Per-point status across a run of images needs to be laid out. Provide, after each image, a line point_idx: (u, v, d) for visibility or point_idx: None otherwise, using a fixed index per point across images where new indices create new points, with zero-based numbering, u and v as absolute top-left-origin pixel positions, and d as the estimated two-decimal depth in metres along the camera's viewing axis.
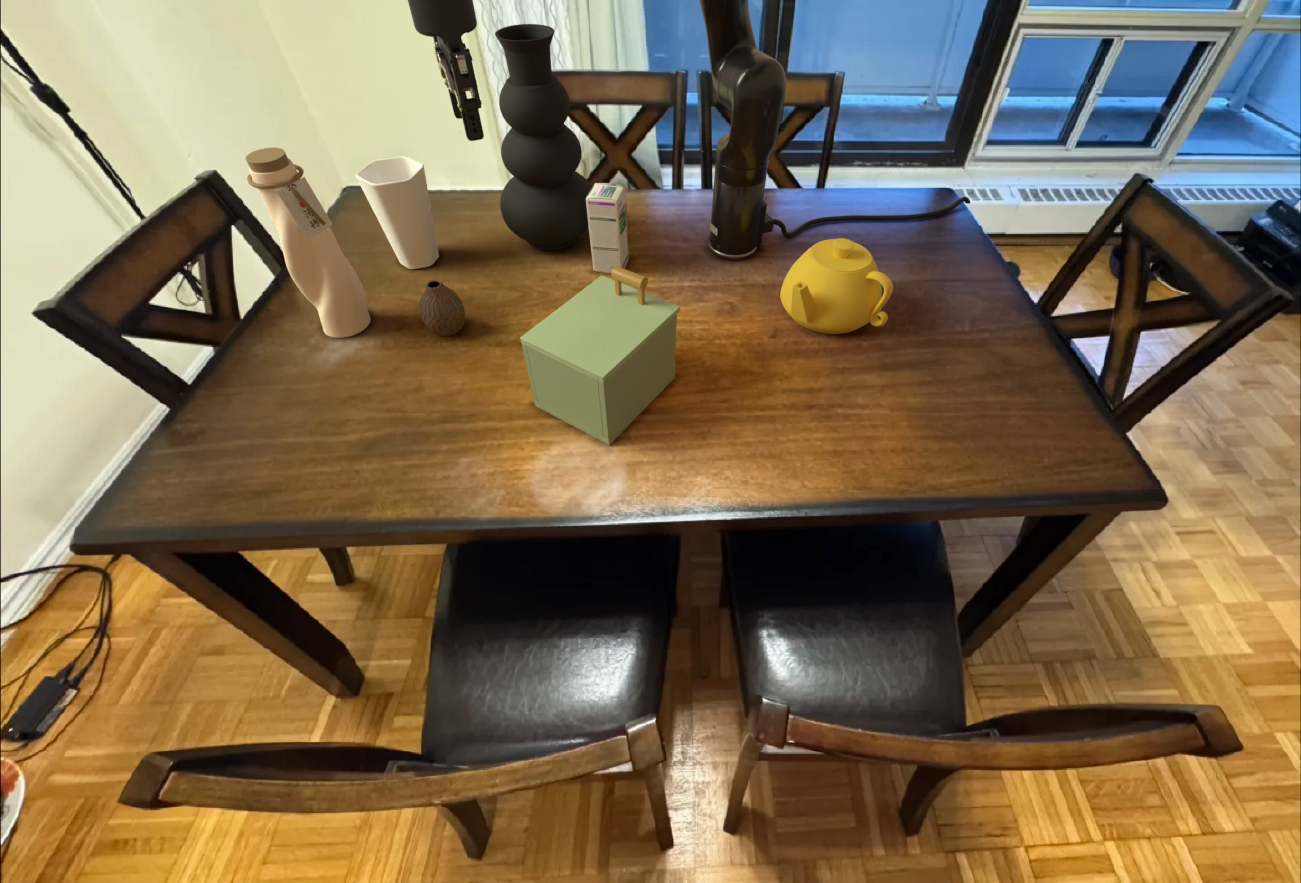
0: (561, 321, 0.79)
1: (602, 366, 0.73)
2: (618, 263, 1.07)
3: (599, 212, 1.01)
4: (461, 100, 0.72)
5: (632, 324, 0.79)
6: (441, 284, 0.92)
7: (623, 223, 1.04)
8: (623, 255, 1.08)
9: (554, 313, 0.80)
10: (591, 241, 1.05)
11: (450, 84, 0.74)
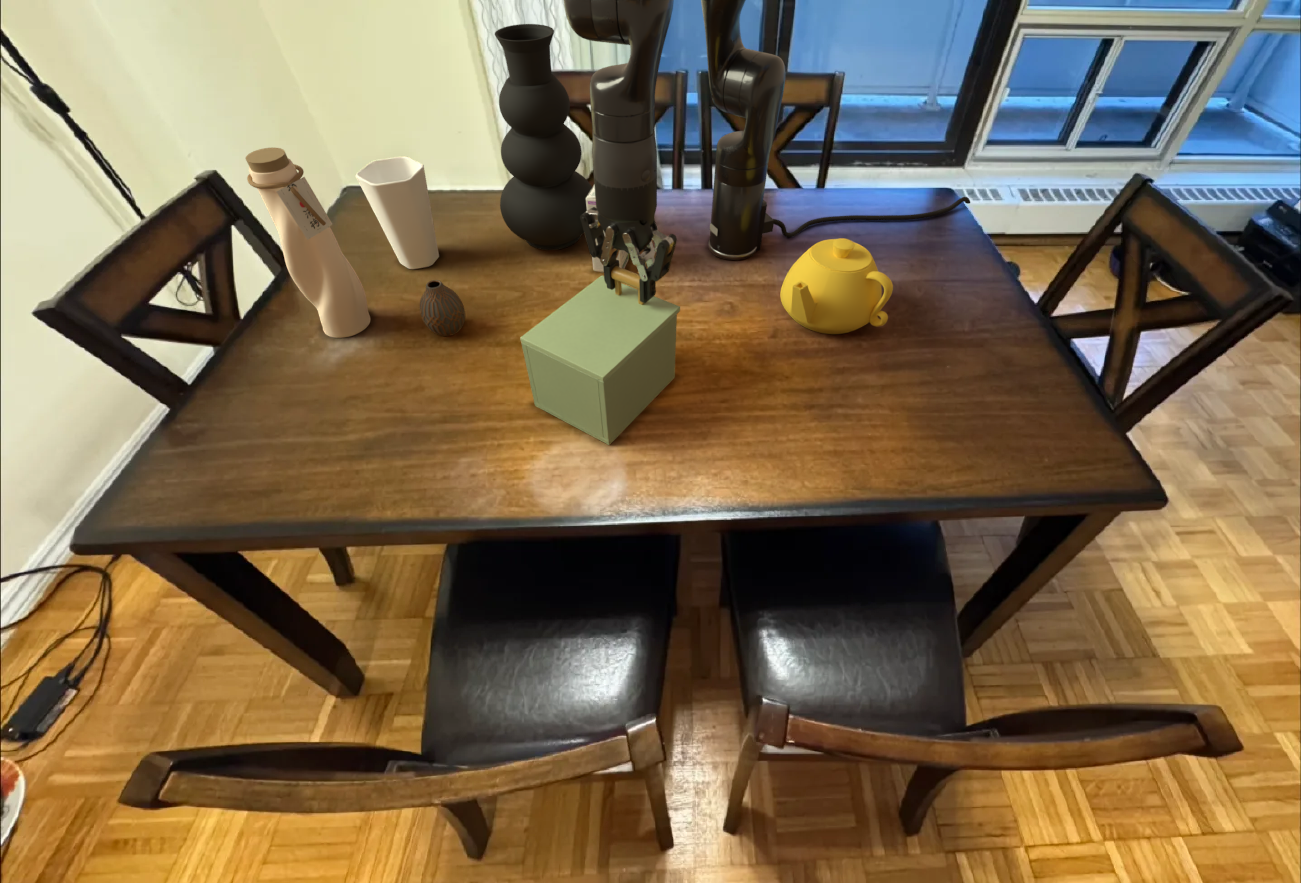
0: (561, 321, 0.79)
1: (602, 366, 0.73)
2: None
3: None
4: (660, 274, 0.75)
5: (632, 324, 0.79)
6: (441, 284, 0.92)
7: None
8: (623, 255, 1.08)
9: (554, 313, 0.80)
10: None
11: (639, 261, 0.75)
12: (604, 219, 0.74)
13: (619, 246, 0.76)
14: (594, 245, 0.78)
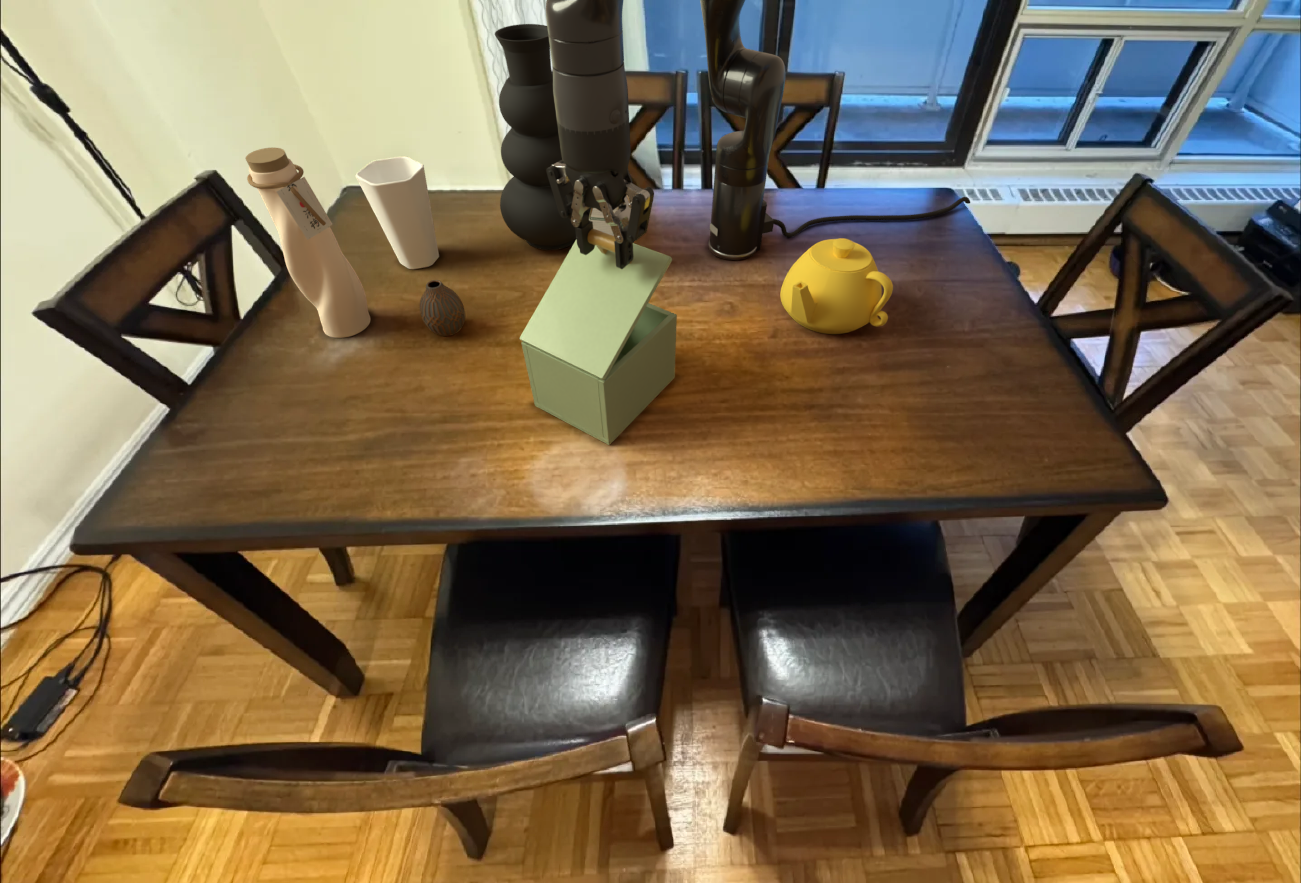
0: (553, 307, 0.76)
1: (599, 363, 0.72)
2: None
3: (599, 212, 1.01)
4: (636, 235, 0.66)
5: (623, 296, 0.74)
6: (441, 284, 0.92)
7: None
8: None
9: (545, 296, 0.77)
10: None
11: (613, 219, 0.66)
12: (572, 172, 0.66)
13: (590, 203, 0.67)
14: (563, 204, 0.70)
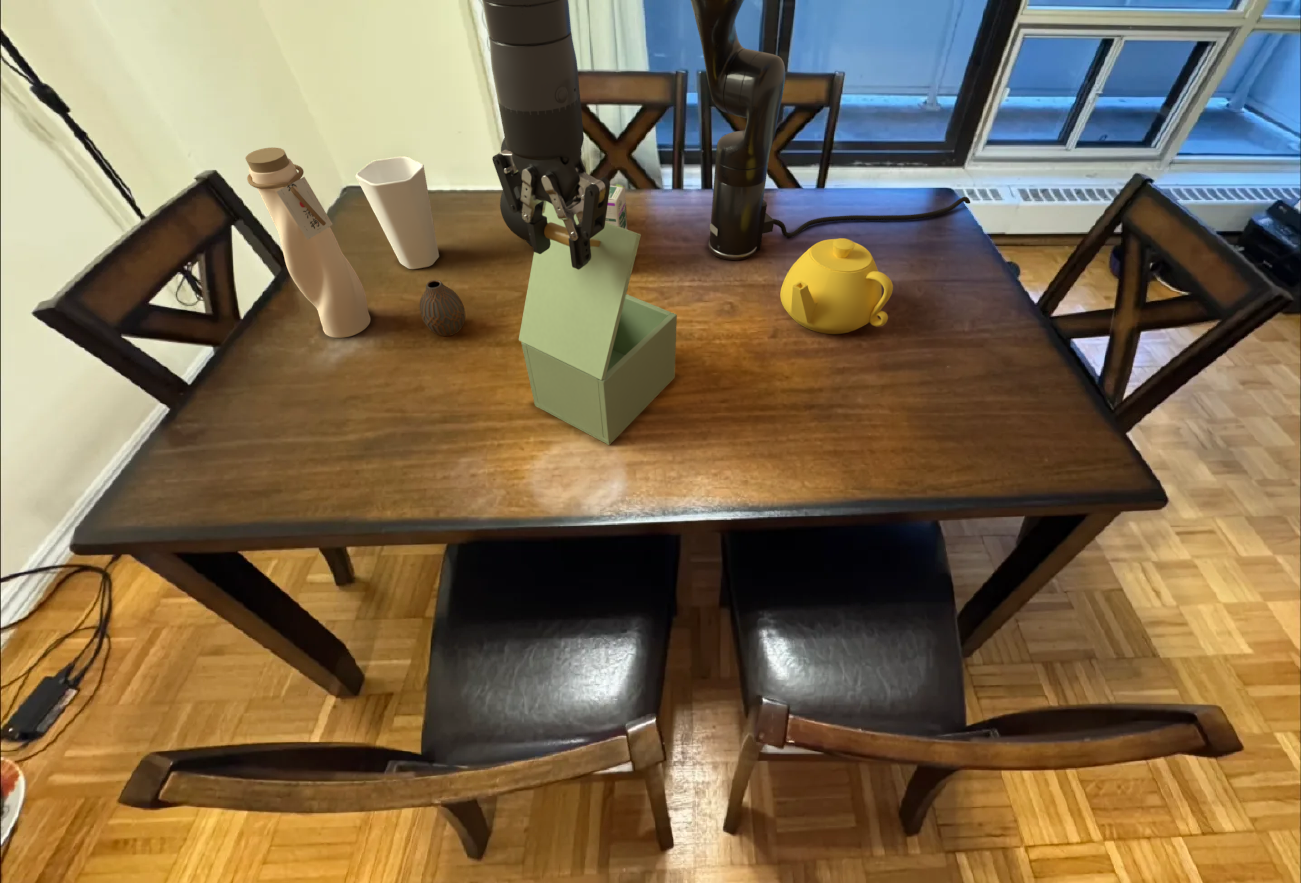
0: (539, 304, 0.74)
1: (595, 364, 0.72)
2: None
3: None
4: (591, 231, 0.59)
5: (601, 287, 0.69)
6: (441, 284, 0.92)
7: (623, 223, 1.04)
8: None
9: (529, 292, 0.74)
10: None
11: (565, 213, 0.59)
12: (520, 160, 0.59)
13: (541, 195, 0.60)
14: (512, 197, 0.63)
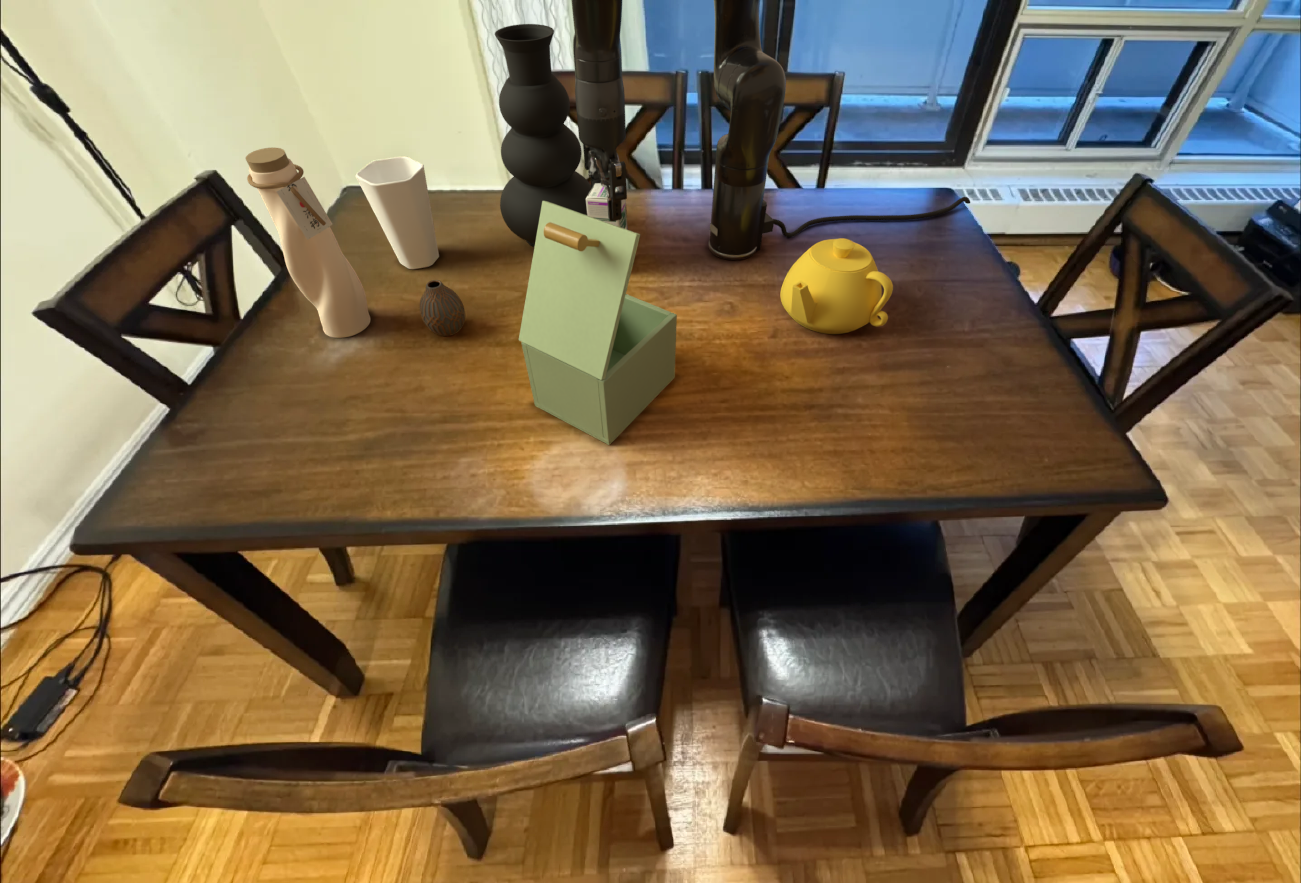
0: (539, 304, 0.74)
1: (595, 364, 0.72)
2: None
3: (599, 212, 1.01)
4: (613, 195, 0.94)
5: (600, 288, 0.69)
6: (441, 284, 0.92)
7: (623, 223, 1.04)
8: None
9: (529, 292, 0.74)
10: None
11: (603, 181, 0.95)
12: None
13: (597, 169, 0.98)
14: (586, 161, 1.01)
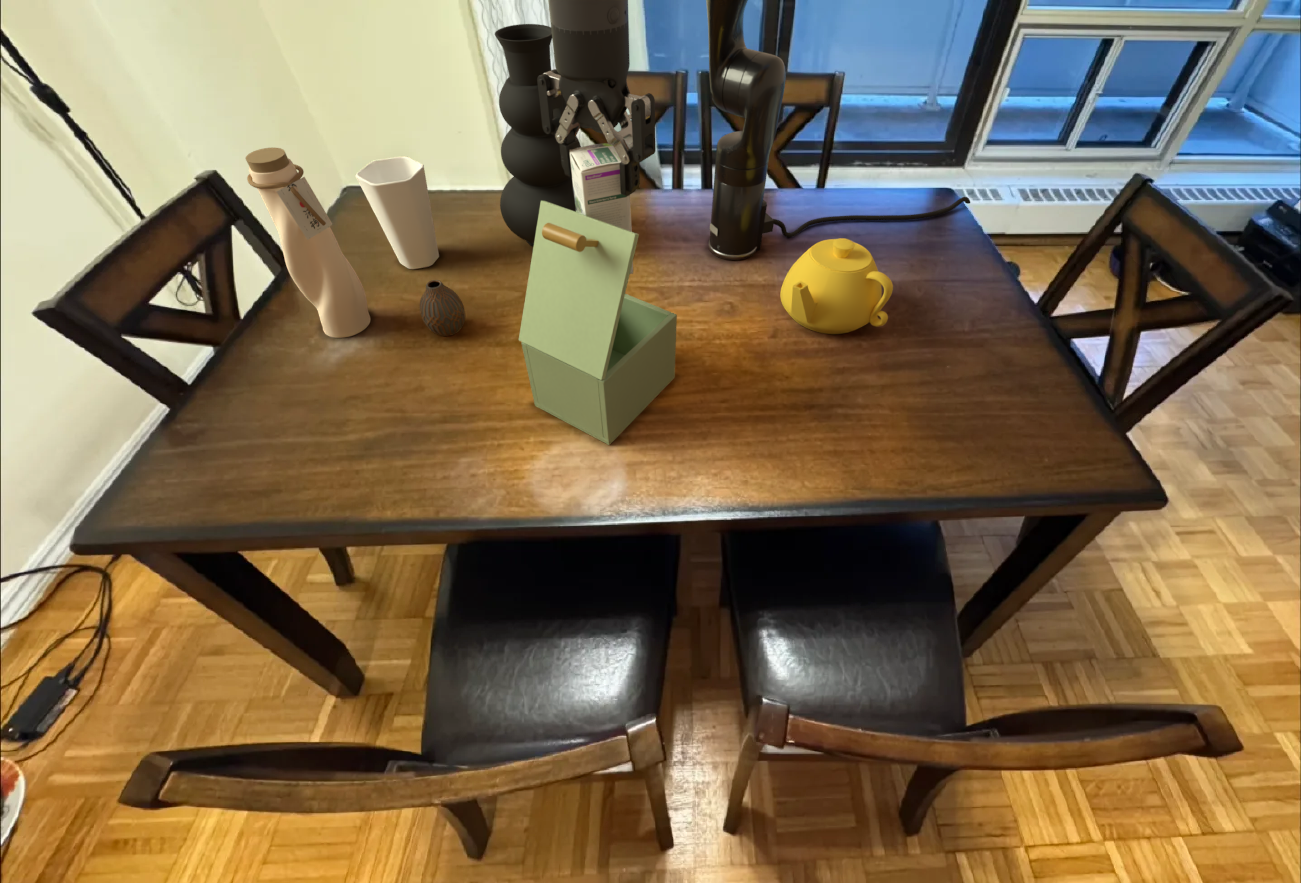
0: (538, 304, 0.74)
1: (595, 364, 0.72)
2: None
3: (602, 189, 0.66)
4: (643, 150, 0.61)
5: (599, 288, 0.68)
6: (441, 284, 0.92)
7: None
8: None
9: (528, 292, 0.74)
10: None
11: (614, 135, 0.61)
12: (567, 88, 0.61)
13: (585, 123, 0.63)
14: (549, 119, 0.65)
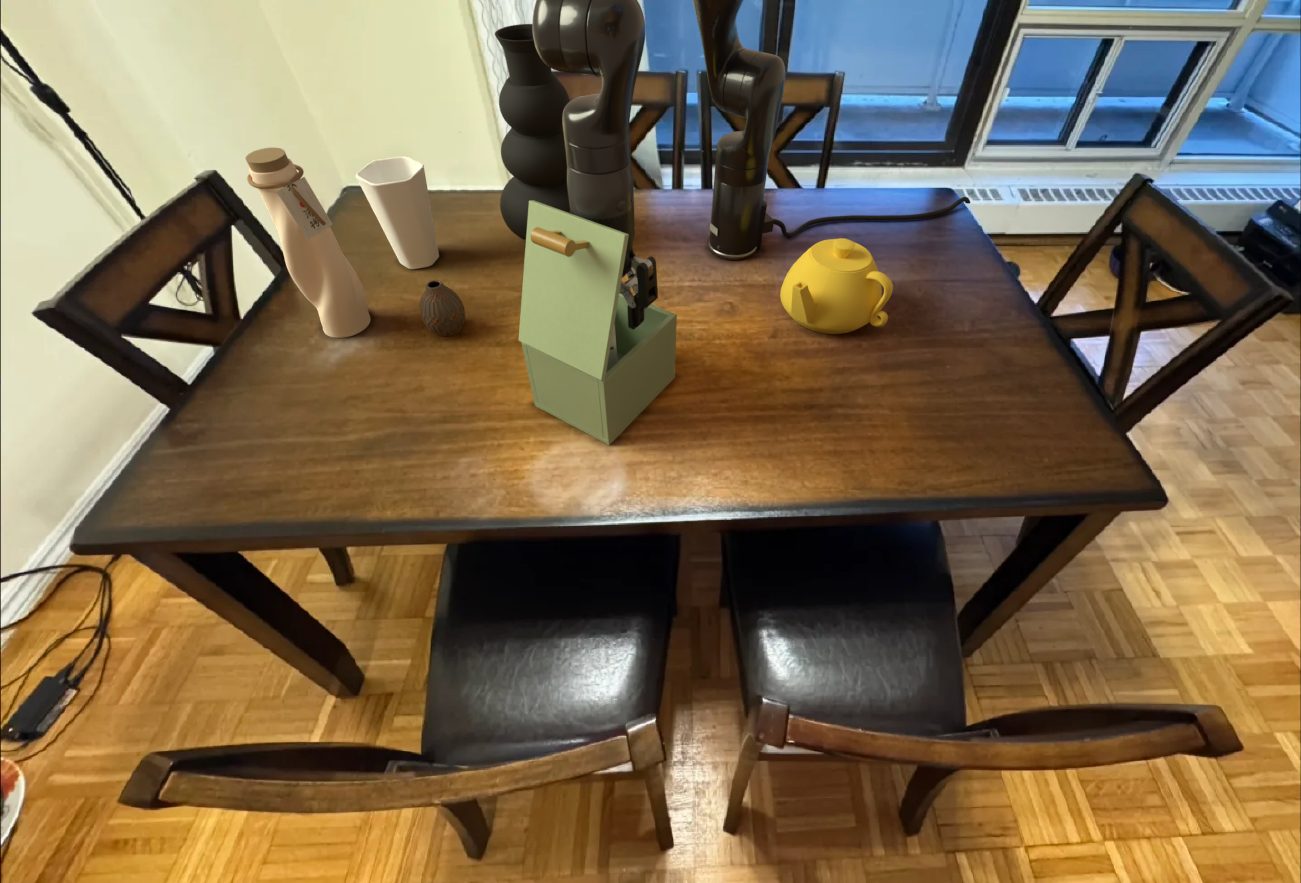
0: (535, 305, 0.73)
1: (594, 365, 0.71)
2: None
3: None
4: (647, 300, 0.72)
5: (593, 289, 0.67)
6: (441, 284, 0.92)
7: None
8: None
9: (524, 293, 0.73)
10: None
11: (623, 287, 0.73)
12: None
13: None
14: None
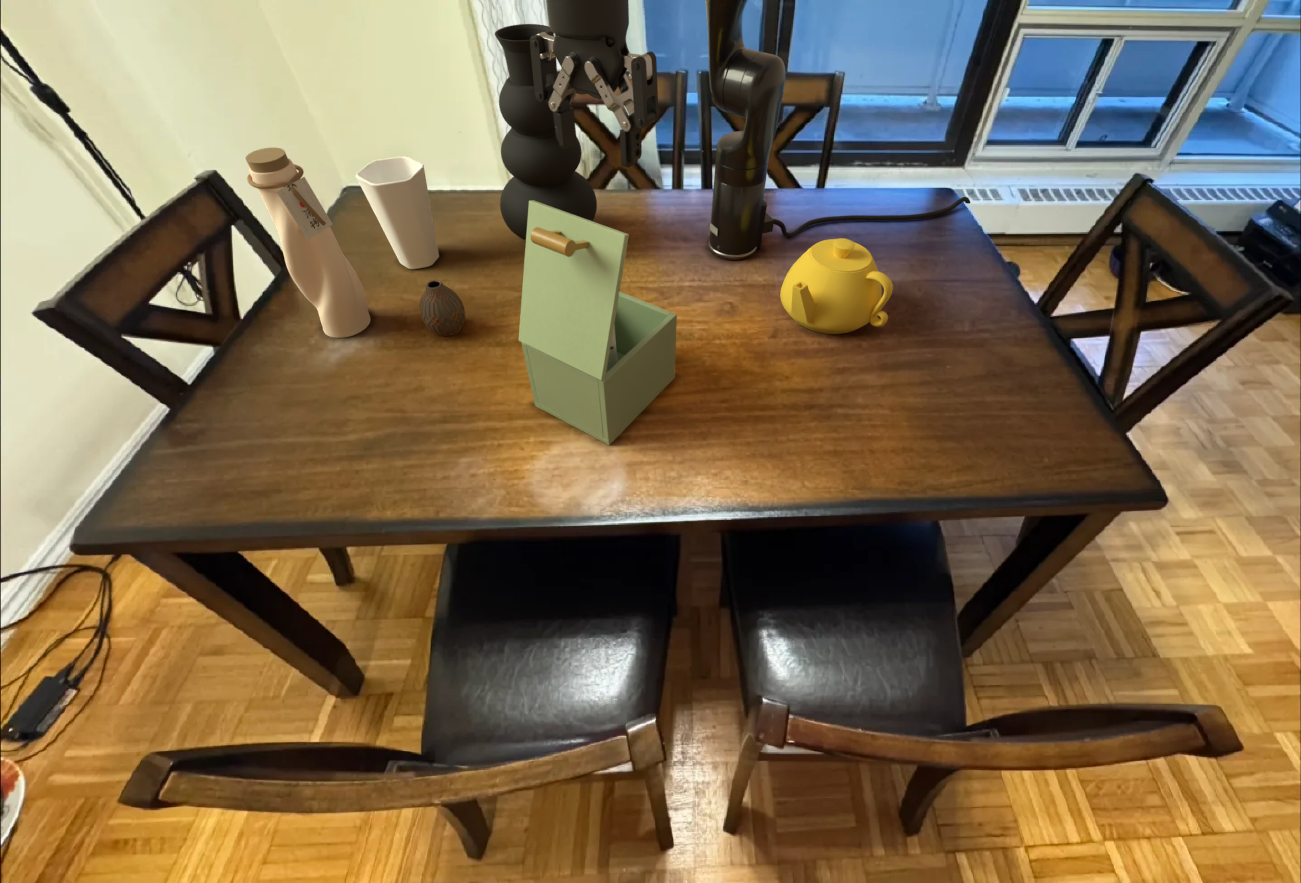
0: (535, 305, 0.73)
1: (594, 365, 0.71)
2: None
3: None
4: (645, 114, 0.56)
5: (593, 289, 0.67)
6: (441, 284, 0.92)
7: None
8: None
9: (524, 293, 0.73)
10: None
11: (613, 99, 0.57)
12: (562, 50, 0.57)
13: (582, 88, 0.59)
14: (542, 85, 0.61)
